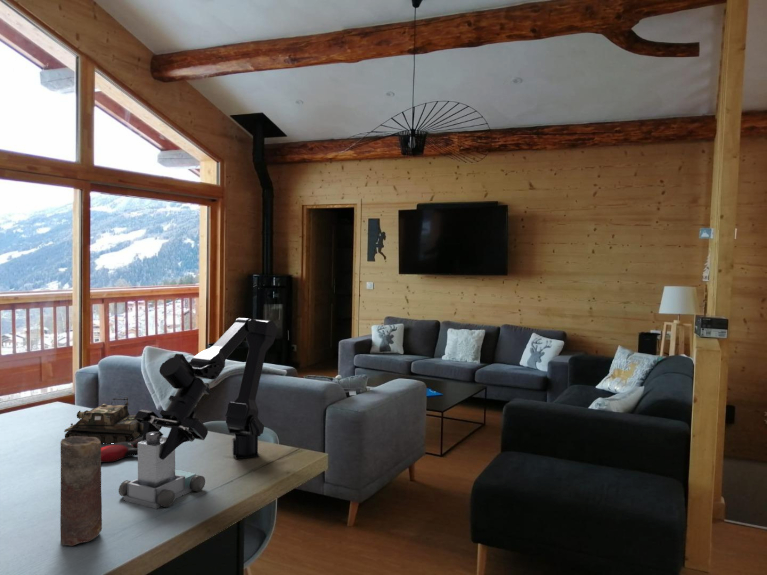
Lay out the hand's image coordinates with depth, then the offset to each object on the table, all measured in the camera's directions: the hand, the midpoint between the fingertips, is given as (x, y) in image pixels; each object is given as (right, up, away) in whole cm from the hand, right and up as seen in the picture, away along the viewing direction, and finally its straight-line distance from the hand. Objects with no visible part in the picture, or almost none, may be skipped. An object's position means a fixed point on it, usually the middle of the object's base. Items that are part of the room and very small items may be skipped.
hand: (152, 456), depth 136 cm
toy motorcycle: (-21, -9, +28) cm, 36 cm away
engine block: (+1, -7, +2) cm, 7 cm away
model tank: (-31, -8, +45) cm, 55 cm away
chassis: (+1, -10, +4) cm, 10 cm away
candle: (-6, -11, -19) cm, 23 cm away
